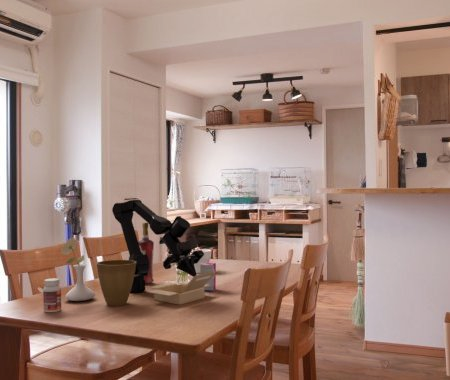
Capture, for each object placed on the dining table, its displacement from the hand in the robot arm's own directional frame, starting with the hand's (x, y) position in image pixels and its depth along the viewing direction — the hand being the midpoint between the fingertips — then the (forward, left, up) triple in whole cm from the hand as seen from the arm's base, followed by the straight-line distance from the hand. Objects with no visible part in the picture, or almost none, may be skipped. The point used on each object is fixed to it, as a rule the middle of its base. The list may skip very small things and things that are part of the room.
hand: (195, 276), depth 197 cm
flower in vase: (-45, +15, -10) cm, 48 cm away
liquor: (-17, +43, -10) cm, 47 cm away
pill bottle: (-53, 0, -10) cm, 54 cm away
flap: (-1, +1, -5) cm, 6 cm away
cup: (+12, +68, -10) cm, 70 cm away
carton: (-7, +8, -10) cm, 15 cm away
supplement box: (+8, +21, -10) cm, 25 cm away
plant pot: (-30, +5, -10) cm, 32 cm away
